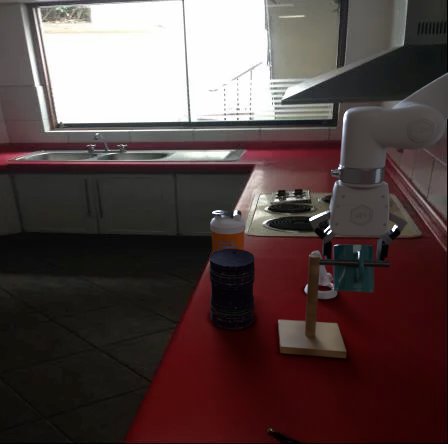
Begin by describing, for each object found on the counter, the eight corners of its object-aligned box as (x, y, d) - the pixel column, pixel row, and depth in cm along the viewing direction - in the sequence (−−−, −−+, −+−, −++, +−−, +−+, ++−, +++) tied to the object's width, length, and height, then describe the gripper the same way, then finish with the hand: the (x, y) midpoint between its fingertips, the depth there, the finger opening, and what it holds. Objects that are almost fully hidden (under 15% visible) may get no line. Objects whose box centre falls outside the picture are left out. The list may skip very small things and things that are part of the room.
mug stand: (372, 331, 87) (382, 247, 81) (386, 361, 77) (398, 269, 72) (278, 325, 91) (280, 245, 85) (280, 353, 82) (283, 265, 76)
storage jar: (250, 332, 89) (251, 268, 84) (205, 326, 92) (203, 264, 88) (257, 309, 98) (258, 250, 93) (216, 304, 101) (214, 247, 97)
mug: (330, 290, 87) (330, 247, 88) (368, 292, 85) (367, 248, 86) (341, 290, 76) (340, 242, 78) (384, 292, 75) (383, 242, 76)
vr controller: (306, 257, 112) (328, 249, 106) (322, 301, 108) (345, 295, 103) (288, 259, 107) (311, 250, 102) (304, 305, 104) (328, 298, 98)
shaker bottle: (210, 277, 116) (208, 207, 109) (242, 275, 115) (242, 206, 109) (212, 292, 107) (211, 218, 101) (247, 291, 107) (248, 216, 101)
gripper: (314, 180, 76) (309, 266, 81) (420, 179, 72) (407, 269, 78) (309, 171, 83) (305, 251, 88) (405, 170, 79) (395, 254, 84)
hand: (353, 259), depth 83 cm, fingers open, 9 cm apart
